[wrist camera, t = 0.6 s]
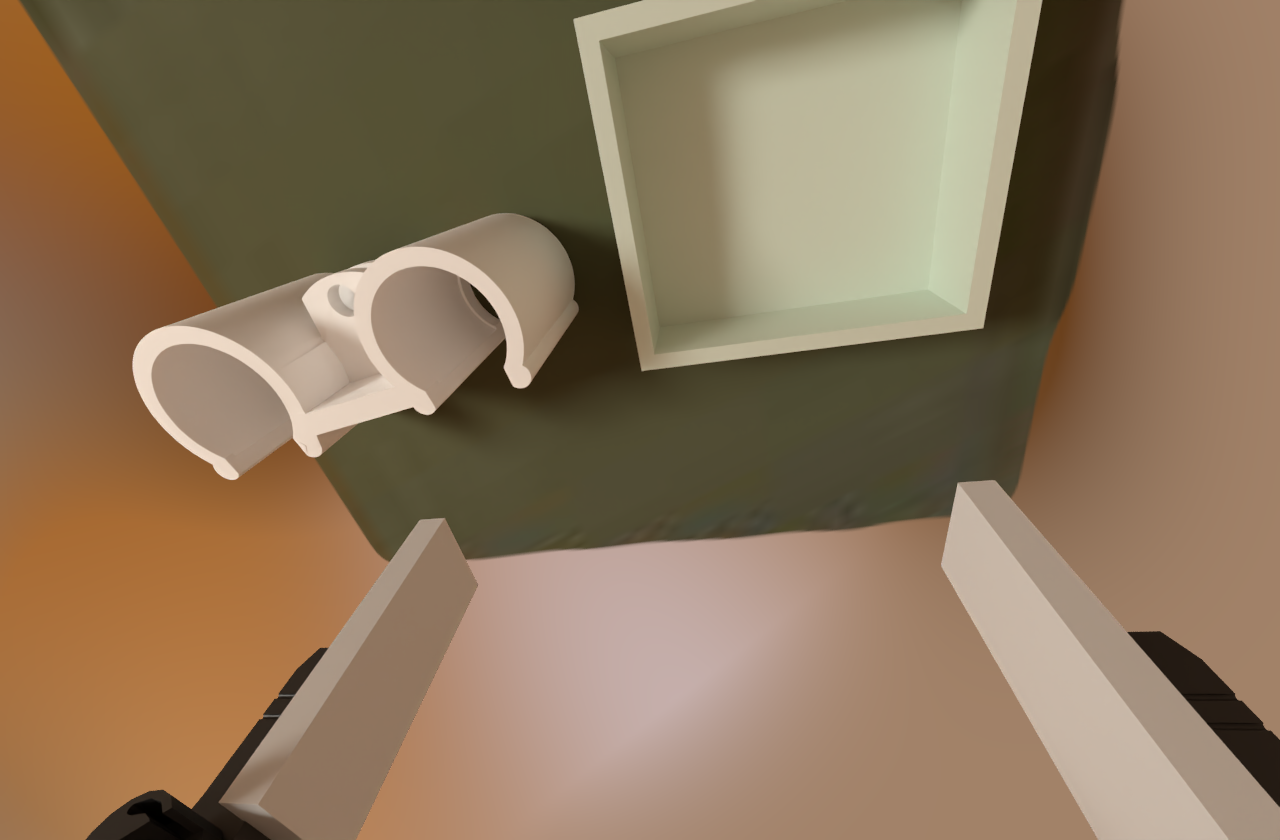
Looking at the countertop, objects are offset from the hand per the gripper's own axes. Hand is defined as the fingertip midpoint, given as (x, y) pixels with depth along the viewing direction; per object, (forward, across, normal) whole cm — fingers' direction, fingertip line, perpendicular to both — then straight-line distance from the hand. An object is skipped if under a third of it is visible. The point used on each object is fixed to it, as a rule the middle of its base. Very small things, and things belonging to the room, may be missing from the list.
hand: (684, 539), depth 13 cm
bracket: (+25, -21, +1) cm, 32 cm away
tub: (+25, +6, +6) cm, 26 cm away
